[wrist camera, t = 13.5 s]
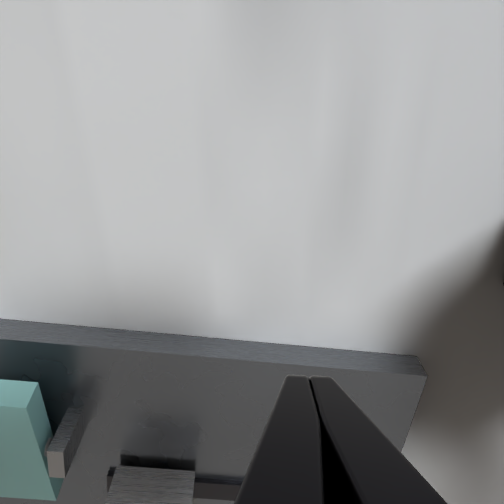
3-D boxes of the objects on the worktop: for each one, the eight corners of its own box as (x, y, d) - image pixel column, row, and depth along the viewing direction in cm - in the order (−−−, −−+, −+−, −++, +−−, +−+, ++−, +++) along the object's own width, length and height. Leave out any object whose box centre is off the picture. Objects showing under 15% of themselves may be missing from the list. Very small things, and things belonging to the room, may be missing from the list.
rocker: (39, 382, 19) (27, 408, 18) (65, 476, 23) (57, 500, 22) (-54, 374, 18) (-71, 400, 17) (-8, 471, 23) (-19, 495, 22)
